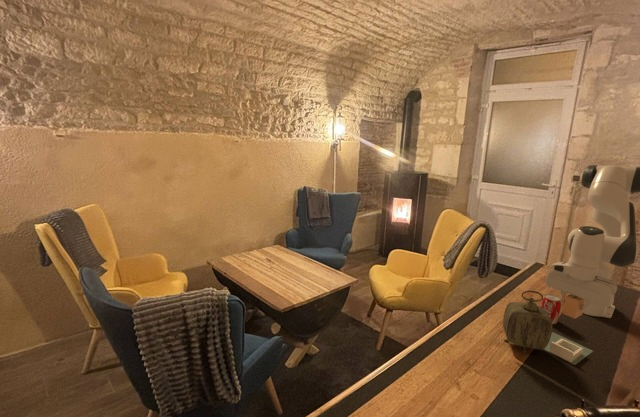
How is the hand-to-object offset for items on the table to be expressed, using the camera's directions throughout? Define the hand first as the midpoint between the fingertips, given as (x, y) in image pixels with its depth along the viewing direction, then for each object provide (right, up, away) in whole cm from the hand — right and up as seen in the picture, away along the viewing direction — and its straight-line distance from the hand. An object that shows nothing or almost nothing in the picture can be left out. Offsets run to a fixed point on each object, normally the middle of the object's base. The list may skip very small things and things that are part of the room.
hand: (573, 306), depth 122 cm
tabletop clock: (-15, -19, +6) cm, 25 cm away
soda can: (+9, -15, +27) cm, 32 cm away
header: (0, -19, +4) cm, 19 cm away
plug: (0, -3, +1) cm, 3 cm away
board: (0, -18, +10) cm, 21 cm away
